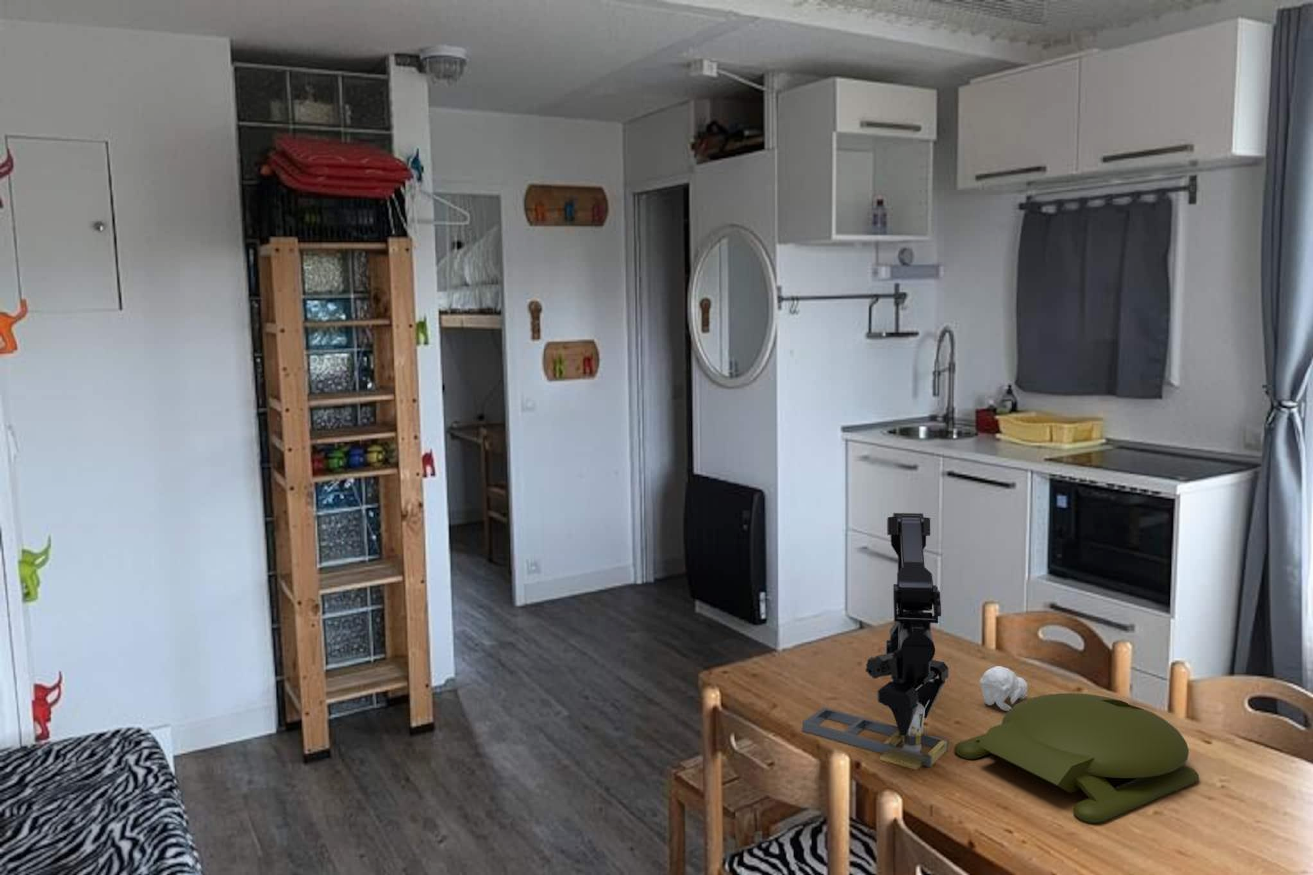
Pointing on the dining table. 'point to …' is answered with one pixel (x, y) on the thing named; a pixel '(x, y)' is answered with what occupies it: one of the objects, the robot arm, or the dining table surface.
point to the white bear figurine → (1002, 687)
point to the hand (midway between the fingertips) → (913, 726)
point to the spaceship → (1090, 750)
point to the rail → (887, 748)
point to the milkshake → (915, 730)
